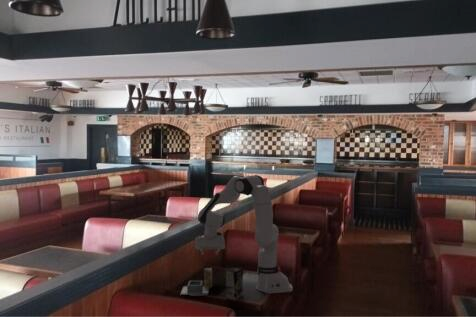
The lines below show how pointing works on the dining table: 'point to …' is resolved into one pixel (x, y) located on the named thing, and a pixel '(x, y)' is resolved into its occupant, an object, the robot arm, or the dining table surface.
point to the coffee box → (234, 283)
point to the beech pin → (208, 277)
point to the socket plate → (195, 289)
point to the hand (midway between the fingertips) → (209, 254)
